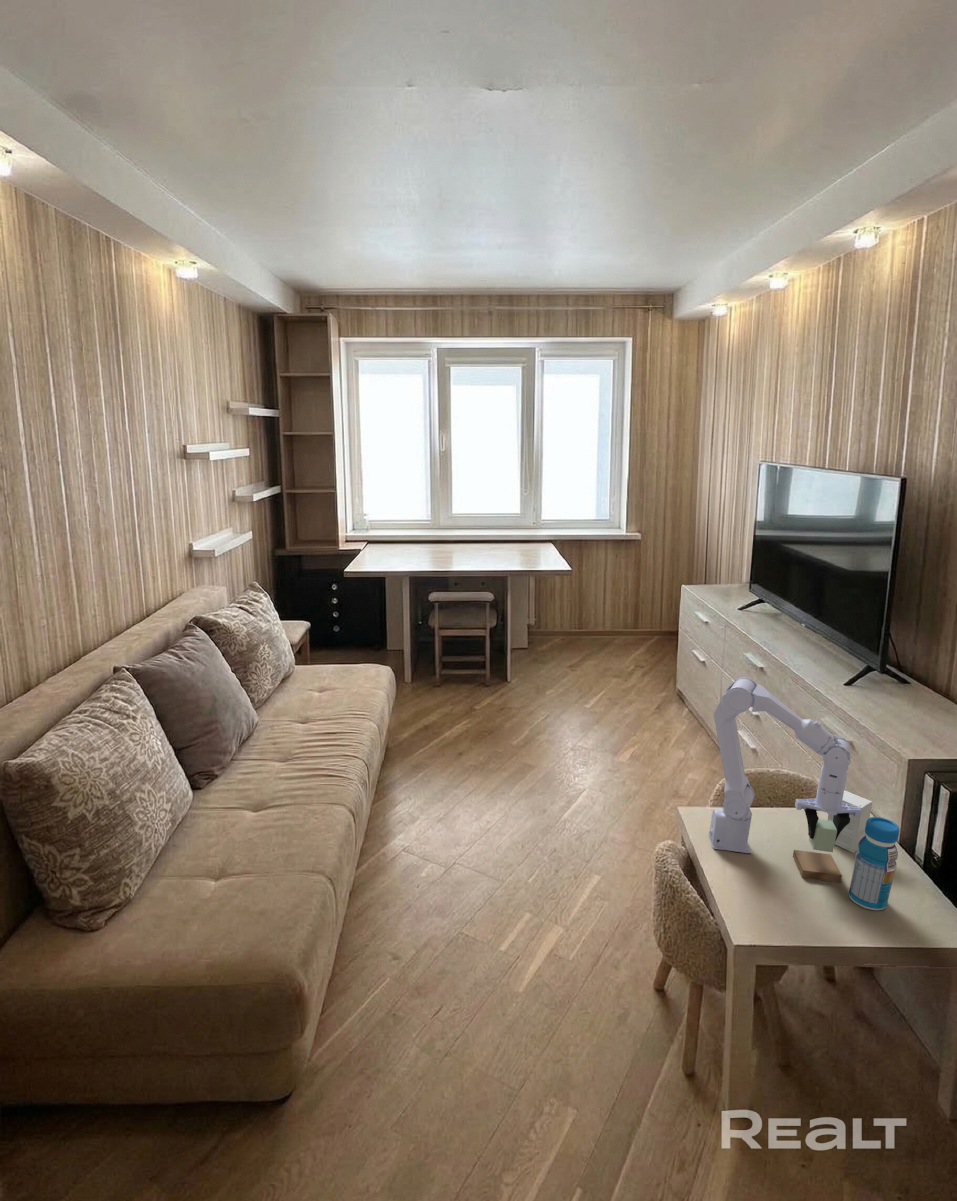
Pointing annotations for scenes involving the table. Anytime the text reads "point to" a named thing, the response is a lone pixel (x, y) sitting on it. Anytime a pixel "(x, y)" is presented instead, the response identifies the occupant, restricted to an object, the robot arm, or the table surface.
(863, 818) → the small box
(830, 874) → the plinth
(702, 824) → the table surface
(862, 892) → the beverage bottle
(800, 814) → the table surface
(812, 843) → the block
